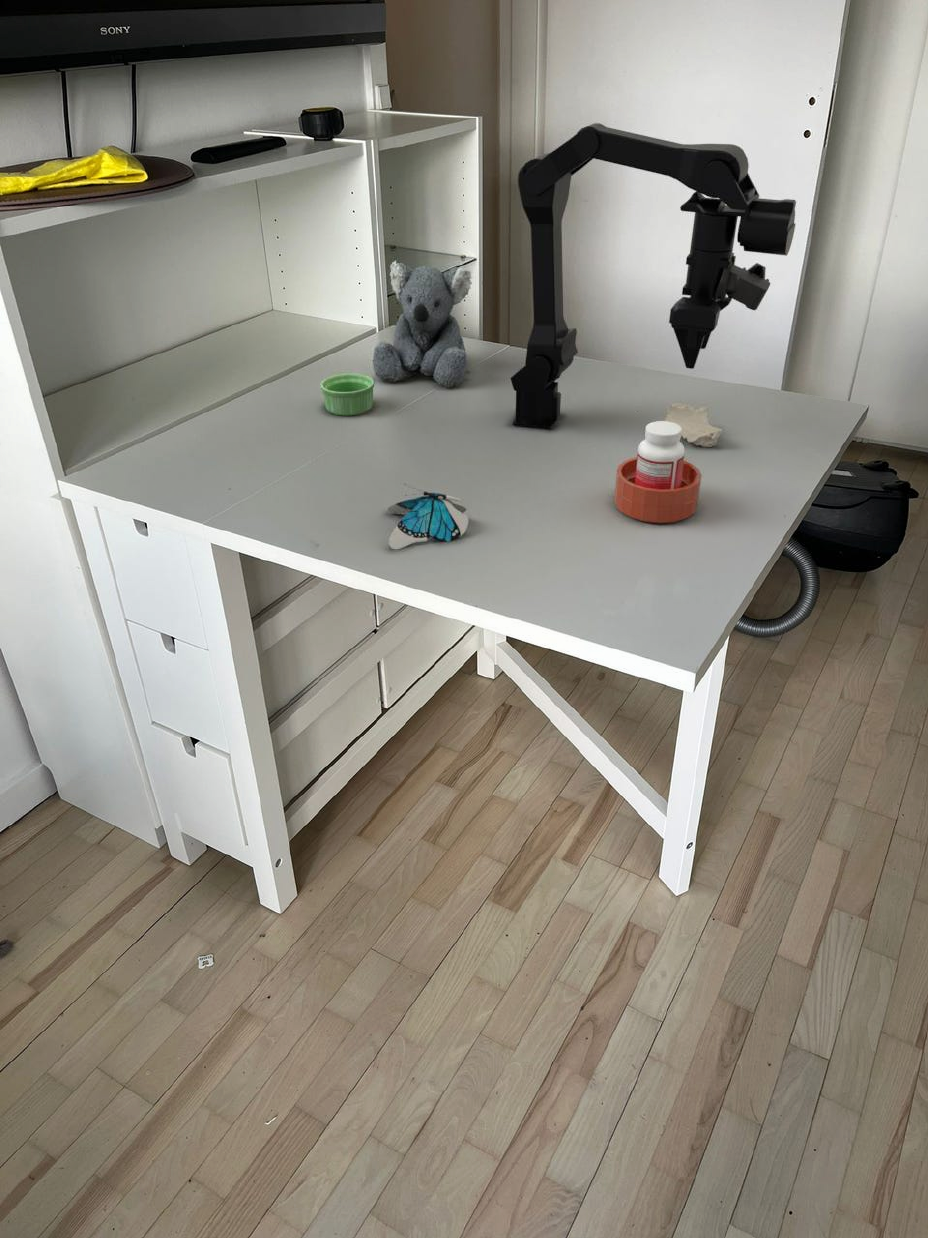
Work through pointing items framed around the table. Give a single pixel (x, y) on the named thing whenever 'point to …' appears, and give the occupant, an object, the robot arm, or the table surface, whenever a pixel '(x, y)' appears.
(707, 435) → the coral
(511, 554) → the table surface
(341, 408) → the ramekin
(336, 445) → the table surface
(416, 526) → the decorative butterfly
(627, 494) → the bowl
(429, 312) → the koala plush
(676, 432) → the pill bottle
